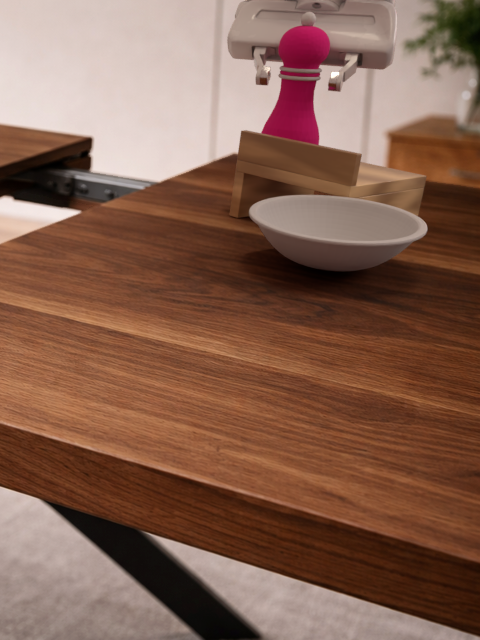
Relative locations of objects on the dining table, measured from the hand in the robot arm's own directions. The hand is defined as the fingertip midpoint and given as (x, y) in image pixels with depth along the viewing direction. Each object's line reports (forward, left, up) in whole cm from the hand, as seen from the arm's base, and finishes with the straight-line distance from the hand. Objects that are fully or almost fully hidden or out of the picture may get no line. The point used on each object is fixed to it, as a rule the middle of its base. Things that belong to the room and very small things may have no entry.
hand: (297, 85), depth 118 cm
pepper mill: (-1, 0, -12) cm, 12 cm away
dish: (+30, +30, -12) cm, 44 cm away
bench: (+16, +19, -11) cm, 27 cm away
